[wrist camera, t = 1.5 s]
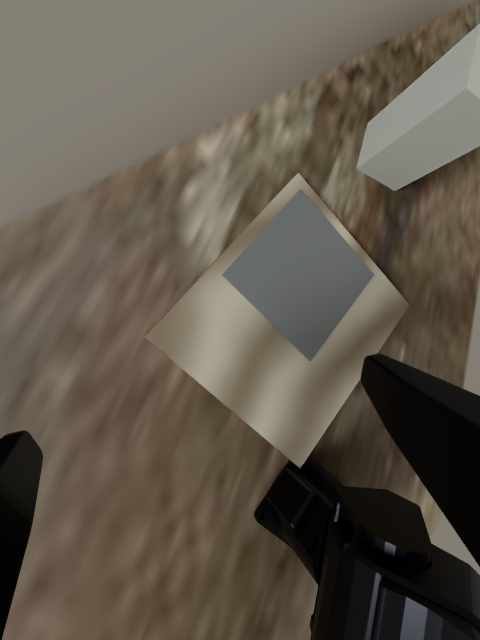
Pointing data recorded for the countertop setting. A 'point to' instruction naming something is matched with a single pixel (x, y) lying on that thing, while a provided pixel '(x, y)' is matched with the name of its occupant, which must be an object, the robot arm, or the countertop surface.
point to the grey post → (427, 120)
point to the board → (284, 321)
